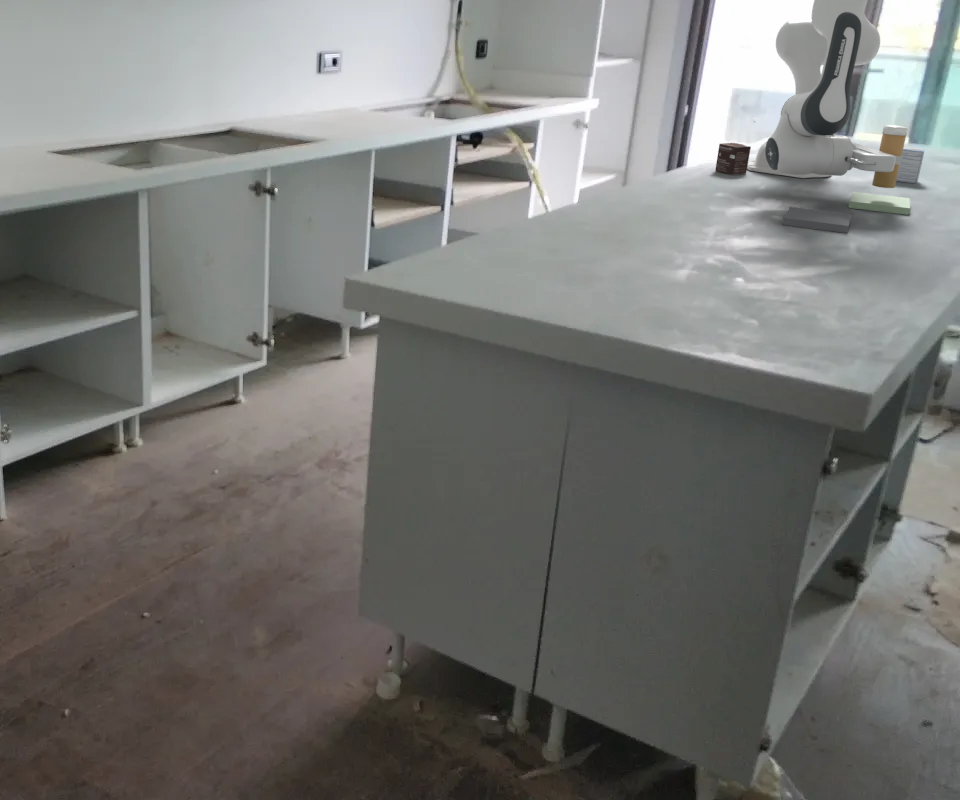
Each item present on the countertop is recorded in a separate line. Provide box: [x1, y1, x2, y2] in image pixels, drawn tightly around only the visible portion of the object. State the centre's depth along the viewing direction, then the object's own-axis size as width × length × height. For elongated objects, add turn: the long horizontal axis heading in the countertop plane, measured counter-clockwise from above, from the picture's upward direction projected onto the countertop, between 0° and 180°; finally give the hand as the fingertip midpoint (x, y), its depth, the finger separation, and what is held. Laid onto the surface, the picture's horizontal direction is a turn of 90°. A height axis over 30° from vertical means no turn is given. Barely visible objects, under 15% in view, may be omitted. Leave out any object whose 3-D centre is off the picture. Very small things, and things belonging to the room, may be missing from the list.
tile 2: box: [848, 191, 911, 216], centre depth 227 cm, size 13×13×2 cm
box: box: [715, 142, 752, 176], centre depth 259 cm, size 6×6×7 cm
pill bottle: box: [871, 124, 909, 189], centre depth 223 cm, size 5×5×13 cm
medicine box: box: [896, 146, 925, 184], centre depth 259 cm, size 8×4×9 cm, turn 65°
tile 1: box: [782, 206, 852, 234], centre depth 207 cm, size 13×13×2 cm
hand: (893, 157), depth 223 cm, fingers closed on pill bottle, 5 cm apart
